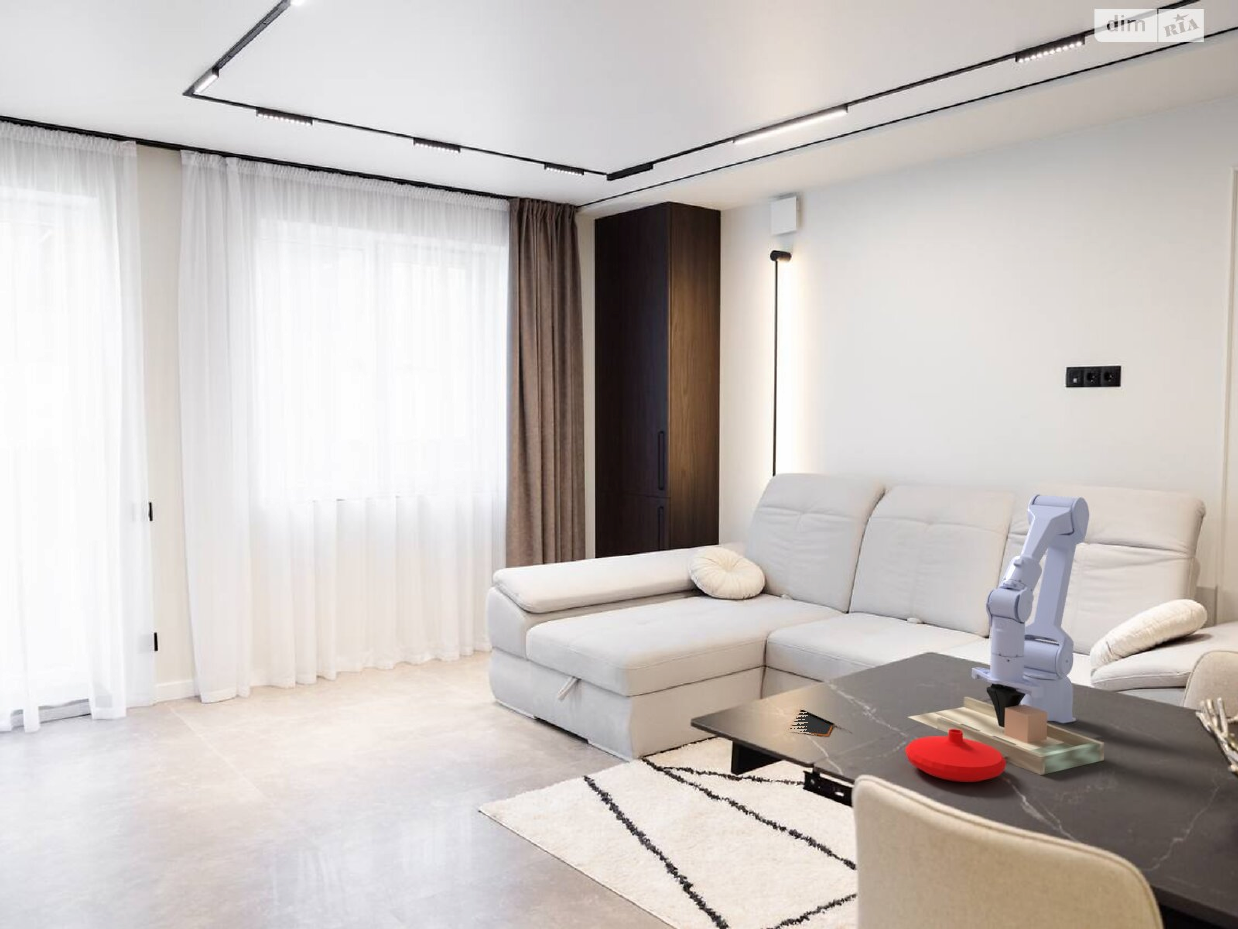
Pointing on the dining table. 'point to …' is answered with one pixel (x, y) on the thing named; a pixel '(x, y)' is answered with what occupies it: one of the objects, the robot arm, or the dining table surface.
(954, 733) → the red disc with nozzle
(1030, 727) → the peach block
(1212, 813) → the dining table surface
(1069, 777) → the dining table surface
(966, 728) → the tray
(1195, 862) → the dining table surface
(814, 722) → the smartphone
